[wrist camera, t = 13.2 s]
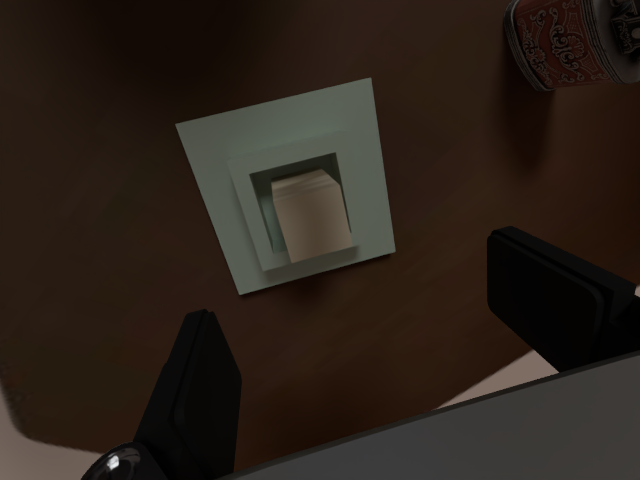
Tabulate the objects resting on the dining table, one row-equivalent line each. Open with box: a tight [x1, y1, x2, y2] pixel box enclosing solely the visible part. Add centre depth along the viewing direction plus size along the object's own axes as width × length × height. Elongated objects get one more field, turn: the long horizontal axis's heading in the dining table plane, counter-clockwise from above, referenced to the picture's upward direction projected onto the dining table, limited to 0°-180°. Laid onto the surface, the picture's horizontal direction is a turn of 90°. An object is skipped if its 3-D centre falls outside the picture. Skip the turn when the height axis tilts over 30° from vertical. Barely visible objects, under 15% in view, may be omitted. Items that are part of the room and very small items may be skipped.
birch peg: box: [271, 166, 353, 263], centre depth 23 cm, size 4×4×8 cm
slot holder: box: [175, 78, 395, 295], centre depth 26 cm, size 15×15×4 cm
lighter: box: [503, 0, 640, 91], centre depth 22 cm, size 8×3×10 cm, turn 41°
